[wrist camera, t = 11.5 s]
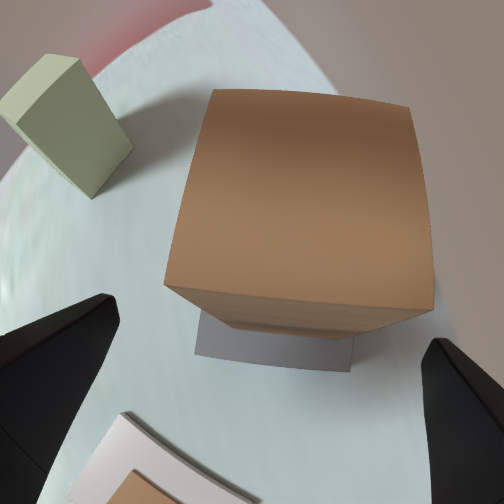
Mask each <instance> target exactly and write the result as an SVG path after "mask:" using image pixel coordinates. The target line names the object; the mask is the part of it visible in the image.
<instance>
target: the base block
mask: <svg viewBox="0 0 504 504" xmlns="http://www.w3.org/2000/svg"><path fill="white" fill-rule="evenodd" d="M353 340H354V336H352V337H348V338H345V339H328V338H315V337H303V336H292V335H282V334H273V333H264V332H255V331H247V330H239V329H233V328H231V327H230V326H228V325H226V324H225V323H223V322H222V321H220V320H218V319H217V318H215V317H213V316H212V315H210V314H209V313H207V312H205V311H204V310H202V309H201V314H200V321H199V327H198V334H197V340H196V347H195V355H200V356H206V357H212V358H218V359H225V360H231V361H238V362H245V363H253V364H261V365H269V366H278V367H287V368H297V369H309V370H322V371H337V372H350V369H351V360H352V350H353Z"/></svg>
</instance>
